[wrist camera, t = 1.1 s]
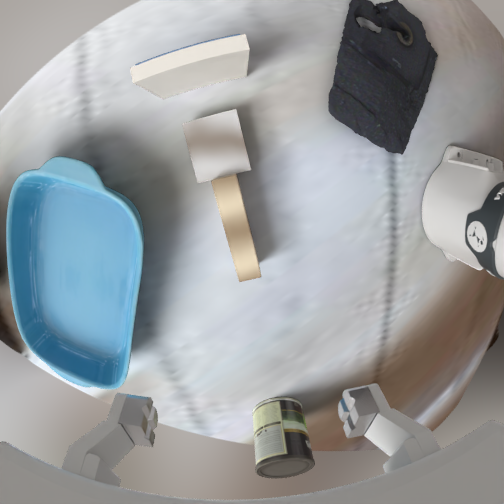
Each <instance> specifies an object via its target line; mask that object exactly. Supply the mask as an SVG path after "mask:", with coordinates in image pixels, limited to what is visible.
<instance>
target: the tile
mask: <svg viewBox="0 0 504 504" xmlns="http://www.w3.org/2000/svg"><path fill="white" fill-rule="evenodd" d="M249 51H250V48H249V45H248V41H247V38H246V34H243V35H240V34H237V35H231V36H227V37H222V38H217V39H213V40H209V41H205V42H201V43H197V44H194V45H190V46H187V47H183V48H180V49H177V50H174V51H171V52H168V53H165V54H162V55H159V56H156V57H153V58H151V59H148V60H146V61H143V62H140V63H138V64H135V65H136V66H134V67H131V68H130V70H131V75H132V80H133V83H134V84H136V85H137V86H139V87H141V88H143V89H145V90H147V91H149V92H151V93H152V94H154V95H156V96H158V97H160V98H162V99H166V98H169V97H172V96H175V95H178V94H181V93H185V92H188V91H191V90H195V89H198V88H202V87H206V86H209V85H213V84H217V83H221V82H226V81H230V80H234V79H239V78H244V77H246V76H247V68H248V60H249Z"/></svg>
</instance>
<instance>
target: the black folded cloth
mask: <svg viewBox="0 0 504 504" xmlns="http://www.w3.org/2000/svg"><path fill="white" fill-rule="evenodd" d="M376 7H377V8H376ZM357 17H364V18H366V19H367V20H370V21H372V22H373V23H374V24H375V25H376V26H378V27H382V29H381V33H376V32H375V31H372V30H370V29H366V28H365V27H360V25H359V24H358V22H357V21H356V18H357ZM344 26H345V28H344V30H343V37H342V41H341V42H340V44H341V46H340V49H339V52H338V56H337V58H338V59H337V62H338V64H337V66H336V69H335V75H334V83H333V87H332V88H331V90H330V93H329V112H330V114H331V115H332V116H334V117H335V119H337V120H338V121H340V122H341V123H343V124H345V125H346V126H348V127H349V128H351V129H352V130H353V131H354V132H355V133H358V134H359V135H361V136H363V137H366V138H367V139H368V140H370V141H371V142H372V143H373V144H375V145H377V146H380V147H384V148H385V149H386V150H387V151H388V152H392V153H401V154H403V152H404V150H405V149H406V146H407V144H408V142H409V138H410V134H411V131H412V129H413V128H414V125H415V123H416V121H417V117H418V115H419V113H420V110H421V108H422V106H423V103H424V99H425V95H426V93H427V92H428V87H429V84H430V81H431V77H432V73H433V70H434V66H435V61H436V59H437V56H438V55H437V53H436V52H435V51H434V49H433V48H432V47H431V43H430V42H428V40H427V38H426V35H425V33H426V32H425V30H424V28H423V25H422V22H421V21H420V20H419V19H418V18H417V17H415V16H414V15H413V14H411V13H410V12H408V11H407V9H406V8H405V7H404V6H403V5H402V4H400V3H399V2H398V0H393V1H390V2H386V3H379V4H376V6H374V5H373V3H372V2H371V1H368V0H352V1H351V2H350V4H349V10H348V14H347V18H346V21H345V25H344Z"/></svg>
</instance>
